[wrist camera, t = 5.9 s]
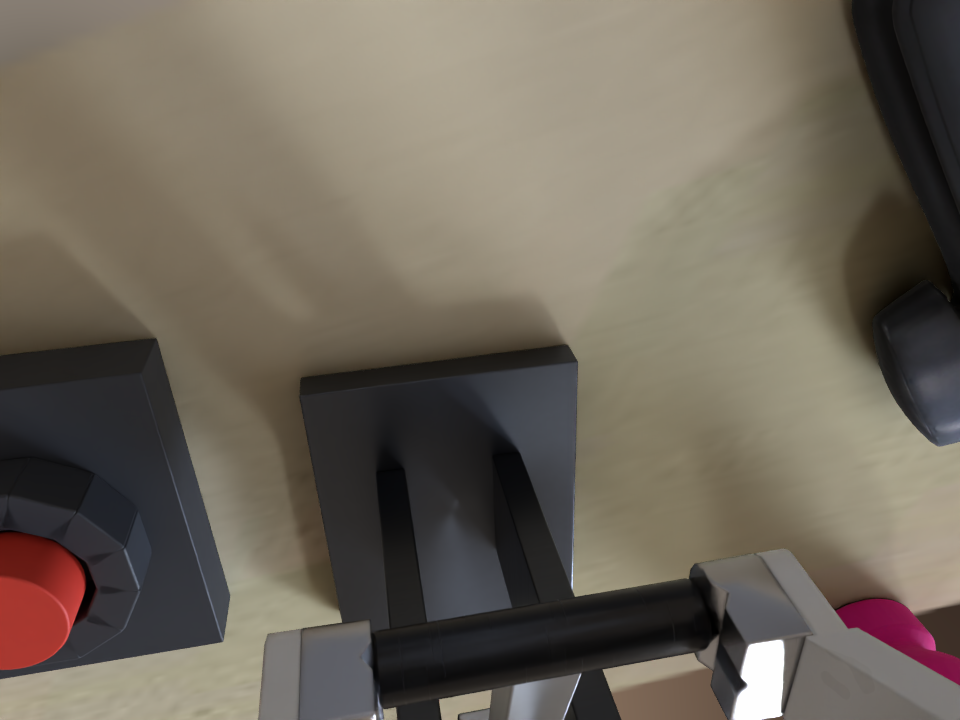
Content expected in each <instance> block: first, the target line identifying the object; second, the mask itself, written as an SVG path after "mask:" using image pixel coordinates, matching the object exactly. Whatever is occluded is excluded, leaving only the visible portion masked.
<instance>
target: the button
mask: <svg viewBox="0 0 960 720" xmlns="http://www.w3.org/2000/svg"><path fill="white" fill-rule="evenodd" d="M85 590H86V576H85V573H84V569H83V567H82V565H81V564H80V562H79V561H78V559H77V558H76V557H75V556H74V555H73V554H72V553H71V552H70V551H69V550H67V549H66V548H65V547H63V546H62V545H60V544H58V543H56V542H54V541H52V540H50V539H47V538H45V537H40V536H36V535H32V534H27V533H22V532H0V670H11V669H19V668H24V667H29V666H32V665H35V664H38V663H40V662H42V661H44V660H46V659H48V658H50V657H51V656H52V655H54V654H55V653H56V652H57V651H58V650H59V649H60V648H61V647H62V646H63V645H64V643H65V642H66V640H67V638H68V636H69V633H70V631H71V628H72V626H73V623H74V620H75V618H76V615H77V612H78V610H79V607H80V604H81V602H82V599H83V596H84V593H85Z"/></svg>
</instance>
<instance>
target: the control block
mask: <svg viewBox="0 0 960 720" xmlns="http://www.w3.org/2000/svg"><path fill="white" fill-rule="evenodd" d="M0 532H22V533H27V534H32V535H36V536H40V537H45V538H47V539H50V540H52V541H54V542H56V543H58V544H60V545H62V546H63V547H65V548H66V549H67V550H69V551H70V552H71V553H72V554H73V555H74V556H75V557H76V558H77V559H78V561H79V562H80V564H81V565H82V567H83V569H84V573H85V576H86V590H85V593H84V596H83V599H82V602H81V604H80V607H79V610H78V612H77V615H76V618H75V620H74V623H73V626H72V628H71V631H70V633H69V636H68V638H67V640H66V642H65V643H64V645H63V646H62V647H61V648H60V649H59V650H58V651H57V652H56V653H55V654H54V655H52V656H51V657H50V658H48V659H46V660H44V661H42V662H40V663H38V664H35V665H32V666H29V667H24V668H19V669H11V670H0V679H4V678H10V677H16V676H22V675H28V674H34V673H40V672H46V671H52V670H58V669H64V668H70V667H76V666H82V665H88V664H94V663H100V662H106V661H112V660H118V659H124V658H130V657H136V656H142V655H148V654H154V653H160V652H166V651H172V650H178V649H184V648H190V647H196V646H202V645H208V644H214V643H220V642H223V640H224V634H225V627H226V621H227V614H228V607H229V601H230V593H229V590H228V587H227V583H226V580H225V576H224V573H223V569H222V566H221V562H220V559H219V555H218V552H217V548H216V545H215V541H214V538H213V534H212V531H211V527H210V524H209V520H208V517H207V513H206V510H205V506H204V503H203V499H202V496H201V492H200V489H199V485H198V482H197V478H196V475H195V471H194V468H193V464H192V461H191V458H190V454H189V451H188V447H187V444H186V440H185V437H184V433H183V430H182V426H181V423H180V419H179V416H178V412H177V409H176V405H175V402H174V398H173V395H172V391H171V388H170V384H169V381H168V377H167V374H166V370H165V367H164V363H163V360H162V356H161V353H160V349H159V346H158V342H157V339H156V338H153V339H144V340H135V341H126V342H118V343H109V344H100V345H91V346H83V347H74V348H65V349H56V350H48V351H39V352H30V353H21V354H12V355H4V356H0Z"/></svg>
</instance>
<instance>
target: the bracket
mask: <svg viewBox="0 0 960 720" xmlns="http://www.w3.org/2000/svg"><path fill="white" fill-rule="evenodd" d="M577 375H578V361H577V359H576V357H575V356H574V354H573V352H572V351H571V349H570V347H569V346H568V345H563V346H555V347H547V348H538V349H530V350H522V351H514V352H506V353H498V354H490V355H482V356H474V357H466V358H458V359H450V360H441V361H433V362H425V363H417V364H409V365H401V366H393V367H385V368H377V369H369V370H361V371H353V372H344V373H336V374H328V375H320V376H312V377H304V378H301V380H300V395H299V398H300V403H301V408H302V413H303V419H304V424H305V429H306V435H307V440H308V445H309V450H310V456H311V461H312V466H313V471H314V477H315V482H316V487H317V492H318V498H319V503H320V508H321V514H322V519H323V524H324V529H325V535H326V540H327V545H328V550H329V556H330V561H331V566H332V571H333V577H334V582H335V587H336V592H337V598H338V603H339V608H340V614H341V619H342V623H344V622H351V621H358V620H365V619H370V620H371V625H372V630H373V633H374V632H375V631H377V630H383V629H389V628H395V627H401V626H407V625H413V624H419V623H425V622H430V621H436V620H442V619H448V618H454V617H460V616H466V615H472V614H478V613H484V612H490V611H496V610H501V609H507V608H513V607H519V606H525V605H531V604H537V603H543V602H549V601H555V600H561V599H566V598H572V597H575V596H574V593H573V548H574V505H575V461H576V418H577ZM396 711H397V720H442V719H441V713H440V706H439V699H438V700H432V701H427V702H421V703H416V704H410V705H405V706H399V707H396ZM564 720H621V718H620V715H619V712H618V710H617V707H616V704H615V702H614V699H613V696H612V694H611V691H610V688H609V686H608V683H607V681H606V678H605V675H604V673H603V670H596V671H591V672H585V673H581V676H580V679H579V681H578V684H577V686H576V689H575V692H574V694H573V697H572V699H571V702H570V704H569V707H568V710H567V712H566V715H565V717H564Z"/></svg>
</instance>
